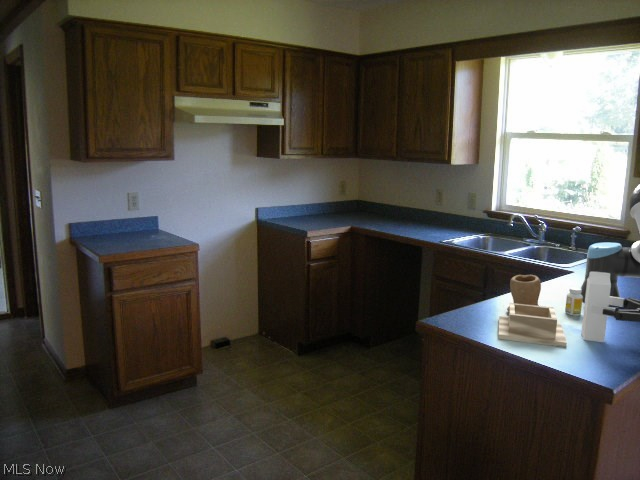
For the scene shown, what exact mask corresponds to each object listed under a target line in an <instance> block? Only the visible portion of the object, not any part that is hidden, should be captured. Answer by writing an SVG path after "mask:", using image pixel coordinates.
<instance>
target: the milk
mask: <svg viewBox="0 0 640 480" xmlns="http://www.w3.org/2000/svg"><path fill="white" fill-rule="evenodd" d="M610 289H611V282H610V273H602V272H590V273H589V277H588V279H587V287H586V296H585V302H584V306H583V314H582V323H581V324H582V325H581V336H582V338H583V341H590V342H598V343H605V337H606V329H607V321H608V316H605V315H600V314H594V313H591V308H592V304H595V305H601V306H606V307H610V305H609V297H610Z"/></svg>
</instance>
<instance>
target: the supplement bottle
mask: <svg viewBox="0 0 640 480" xmlns="http://www.w3.org/2000/svg"><path fill="white" fill-rule="evenodd" d="M580 288H581V287H580ZM580 288H579V287H574V286H571V287H569V292H568V293H567V295H566V300H565V308H564V309H565V310H564V312H565V314H567V315H569V316H573V317H574V316H576V317H577V316H580V315H581V314H582V307H583V306H582V305H583V301H582V300H583V296H582V295H581V291H582V289H580Z"/></svg>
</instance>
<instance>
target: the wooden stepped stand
mask: <svg viewBox="0 0 640 480" xmlns="http://www.w3.org/2000/svg"><path fill="white" fill-rule="evenodd" d="M508 307H509V312H508V316H505V315H504V316H503V315H499V317H498V338H497V339H498V340H505V341H513V342H522V343H529V344H535V345H536V344H538V345H544V346H545V345H547V346H552V345H553V346H554V347H559V348H560V347H561V348H567V339H566V336H565V332H564V330H563V326H562V323H561V322H558V318H557V315H556V314H557V313H556V311H555V308H554V306H553V307H552V306H546V305H545V306H543V305H542V306H541V305H539V306H535V305H526V304H516V303H514V302H509V306H508Z"/></svg>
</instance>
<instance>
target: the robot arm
mask: <svg viewBox="0 0 640 480" xmlns="http://www.w3.org/2000/svg"><path fill="white" fill-rule="evenodd" d="M628 211H629V213H630V217H632V219H633V220H634V221H635V222H636V226H637V229H638V233H639V234H640V183H639V184H638V185H637V186H636V187H635V188H634V190H633V191H632V193H631V194H630V197H629V200H628ZM590 272H602V273H610V282H611V289H610V297H609V306H608V307H606V306H601V305H595V304H592V308H591V313H594V314H600V315H605V316H607V317H611V318H615V321H623V322H637V323H640V299H636V298H632V297H631V296H630V297H626V298H623V297H621V294H620V290H619V286H618V279H619V277H623V278H624V277H626V278H639V279H640V240H637V241H636V242H634V243H633V244H632V245H631V247H629V246H628V247H625V246H622V244H621V243H619V242H605V241H604V242H596V243H593V244H591V245H589V247H588V249H587V254H586V265H585V274H584V280H583V283H582V285H581V286H580V289H582V291H581V295H582V296H583V300H582V302H584V303H585V296H586V287H587V279H588V277H589V273H590ZM611 306H615V307H611ZM619 307H621V308H623V309H619Z"/></svg>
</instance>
